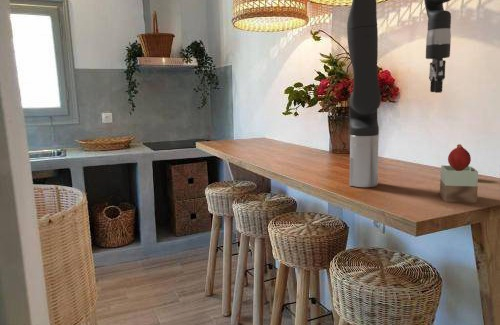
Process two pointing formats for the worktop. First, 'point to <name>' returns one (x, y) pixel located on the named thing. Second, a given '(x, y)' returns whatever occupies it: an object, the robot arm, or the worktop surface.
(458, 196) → the bottom block
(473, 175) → the top block
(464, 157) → the onion
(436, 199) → the worktop surface
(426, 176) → the worktop surface
